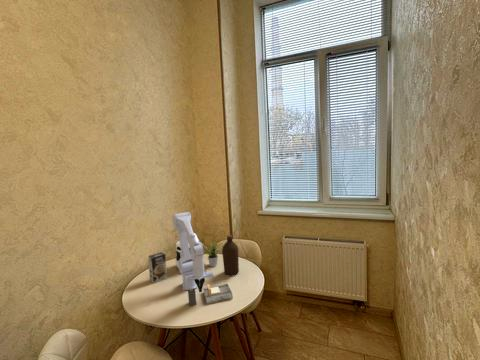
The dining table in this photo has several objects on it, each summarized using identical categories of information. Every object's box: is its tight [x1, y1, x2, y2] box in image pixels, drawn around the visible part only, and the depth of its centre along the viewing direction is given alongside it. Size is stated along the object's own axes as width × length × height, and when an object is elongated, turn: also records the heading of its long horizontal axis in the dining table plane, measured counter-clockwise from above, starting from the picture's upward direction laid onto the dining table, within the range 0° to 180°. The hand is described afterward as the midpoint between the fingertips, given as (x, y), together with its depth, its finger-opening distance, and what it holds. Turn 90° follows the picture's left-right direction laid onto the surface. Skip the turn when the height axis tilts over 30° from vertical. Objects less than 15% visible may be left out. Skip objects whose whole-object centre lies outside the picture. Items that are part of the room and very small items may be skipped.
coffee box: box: [147, 252, 168, 284], centre depth 162 cm, size 9×6×16 cm
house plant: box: [204, 241, 223, 267], centre depth 179 cm, size 14×14×16 cm
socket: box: [202, 283, 234, 305], centre depth 139 cm, size 12×14×3 cm
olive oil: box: [221, 234, 240, 277], centre depth 165 cm, size 11×11×25 cm
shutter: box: [206, 283, 220, 295], centre depth 139 cm, size 6×6×3 cm
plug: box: [187, 288, 197, 307], centre depth 132 cm, size 4×4×8 cm
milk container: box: [175, 240, 191, 269], centre depth 179 cm, size 17×17×18 cm
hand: (200, 291), depth 137 cm, fingers closed
